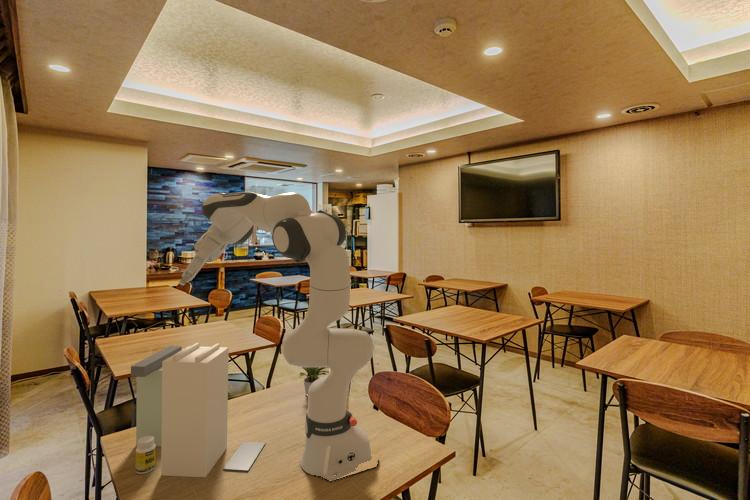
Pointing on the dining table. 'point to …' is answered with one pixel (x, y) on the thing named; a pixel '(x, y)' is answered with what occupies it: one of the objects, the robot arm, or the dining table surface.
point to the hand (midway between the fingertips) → (185, 277)
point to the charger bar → (153, 361)
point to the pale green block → (149, 406)
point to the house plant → (311, 376)
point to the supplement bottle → (145, 455)
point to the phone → (244, 457)
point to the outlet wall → (194, 410)
